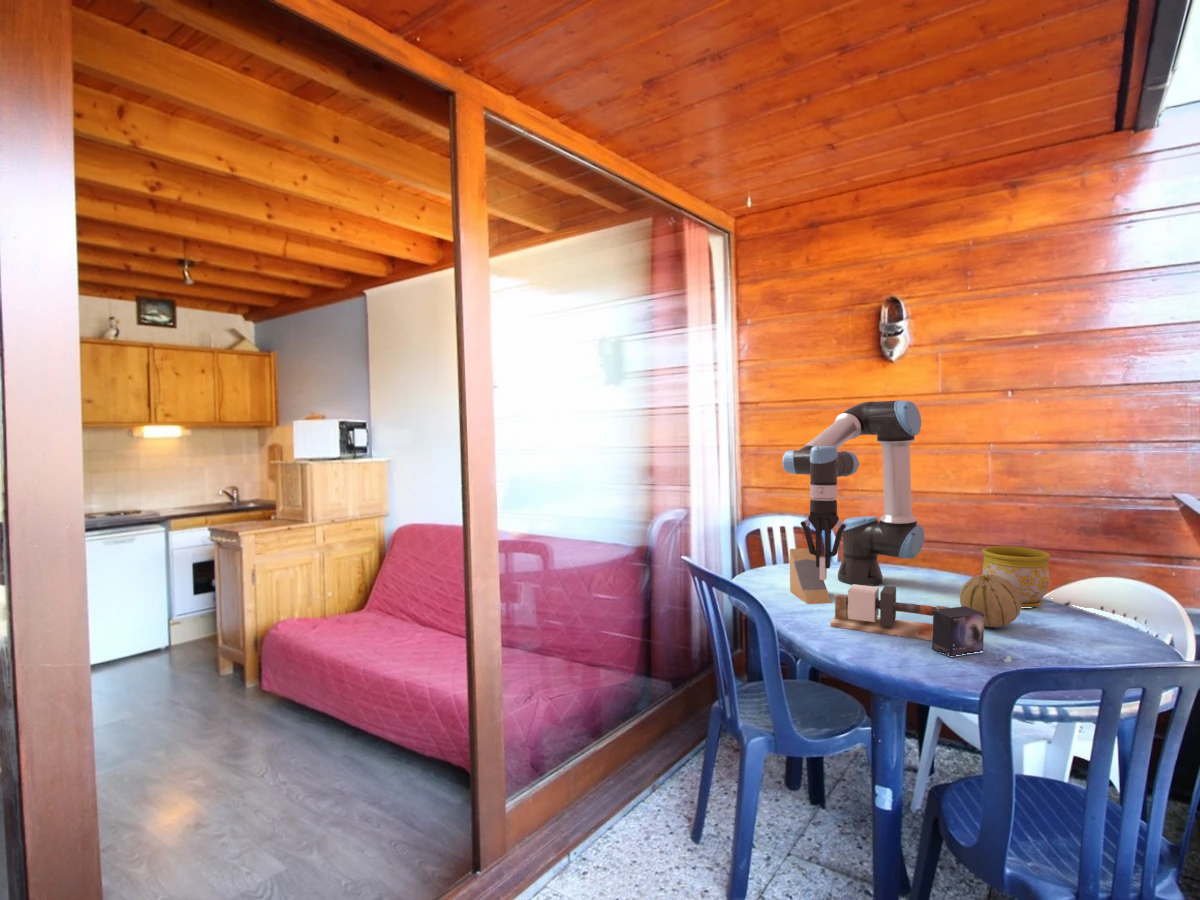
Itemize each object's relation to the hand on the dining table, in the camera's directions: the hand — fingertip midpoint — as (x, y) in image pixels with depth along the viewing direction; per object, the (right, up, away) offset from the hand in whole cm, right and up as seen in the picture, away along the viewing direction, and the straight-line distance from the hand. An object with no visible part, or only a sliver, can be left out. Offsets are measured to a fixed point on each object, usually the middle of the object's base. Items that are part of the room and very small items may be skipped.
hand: (823, 578), depth 190 cm
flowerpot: (+65, -11, +13) cm, 67 cm away
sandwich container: (+4, -11, +24) cm, 27 cm away
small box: (+25, -13, -27) cm, 39 cm away
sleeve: (+10, -10, -5) cm, 15 cm away
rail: (+16, -12, -8) cm, 22 cm away
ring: (+15, -10, -8) cm, 20 cm away
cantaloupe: (+44, -12, -8) cm, 46 cm away
